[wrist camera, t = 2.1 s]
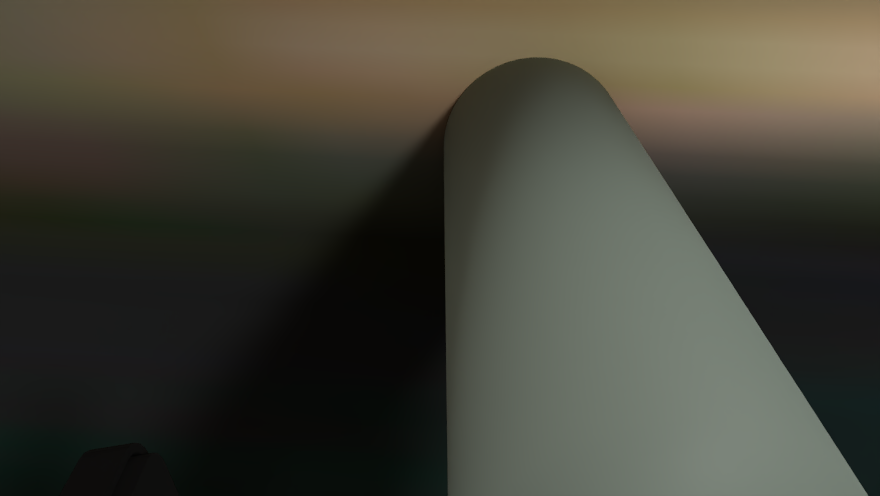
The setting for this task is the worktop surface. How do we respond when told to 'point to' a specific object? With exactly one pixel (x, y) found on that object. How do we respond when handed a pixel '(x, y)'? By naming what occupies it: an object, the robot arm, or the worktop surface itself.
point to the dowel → (599, 317)
